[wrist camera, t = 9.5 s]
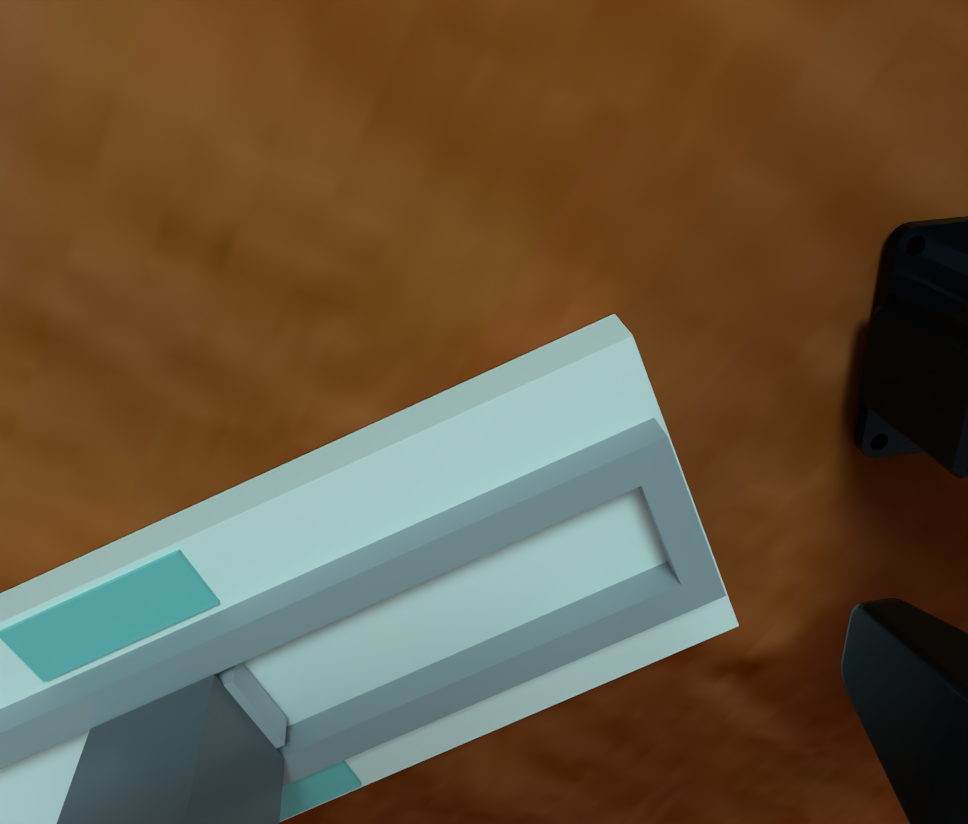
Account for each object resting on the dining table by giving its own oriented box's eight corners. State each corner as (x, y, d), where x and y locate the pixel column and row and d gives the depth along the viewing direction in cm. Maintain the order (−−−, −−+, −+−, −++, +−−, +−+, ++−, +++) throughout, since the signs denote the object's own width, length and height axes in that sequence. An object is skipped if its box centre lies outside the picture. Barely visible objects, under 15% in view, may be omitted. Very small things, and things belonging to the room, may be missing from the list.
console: (614, 313, 21) (646, 351, 18) (718, 592, 25) (754, 650, 23) (-344, 750, 22) (-421, 833, 20) (-81, 936, 27) (-119, 1021, 25)
